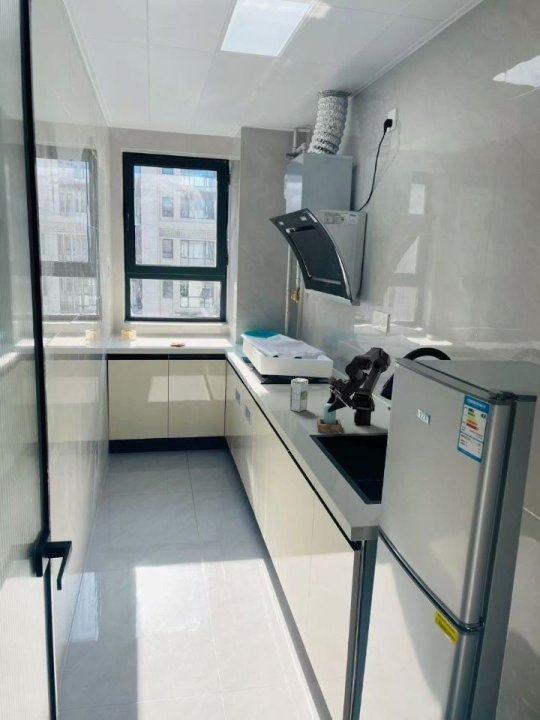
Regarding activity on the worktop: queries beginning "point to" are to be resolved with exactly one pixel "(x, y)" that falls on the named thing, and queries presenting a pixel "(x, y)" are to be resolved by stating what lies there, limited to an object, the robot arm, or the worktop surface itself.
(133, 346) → the worktop surface
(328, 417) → the peg
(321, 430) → the collar
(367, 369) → the robot arm
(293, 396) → the syrup box
